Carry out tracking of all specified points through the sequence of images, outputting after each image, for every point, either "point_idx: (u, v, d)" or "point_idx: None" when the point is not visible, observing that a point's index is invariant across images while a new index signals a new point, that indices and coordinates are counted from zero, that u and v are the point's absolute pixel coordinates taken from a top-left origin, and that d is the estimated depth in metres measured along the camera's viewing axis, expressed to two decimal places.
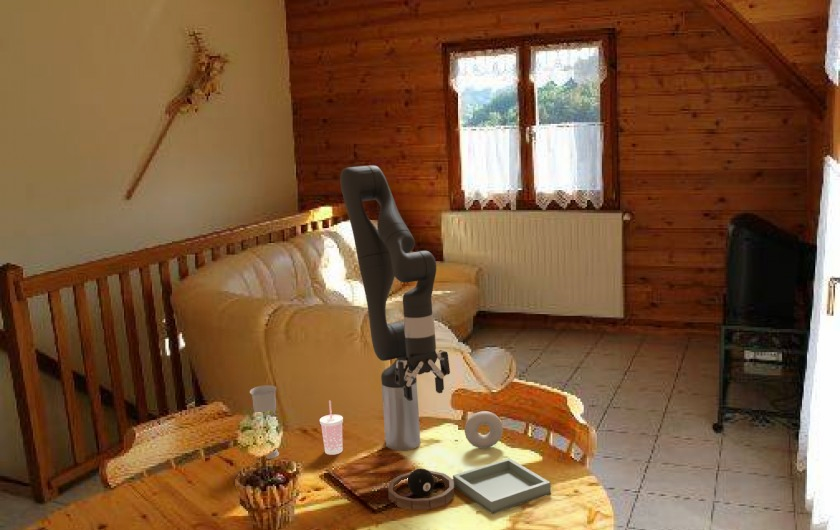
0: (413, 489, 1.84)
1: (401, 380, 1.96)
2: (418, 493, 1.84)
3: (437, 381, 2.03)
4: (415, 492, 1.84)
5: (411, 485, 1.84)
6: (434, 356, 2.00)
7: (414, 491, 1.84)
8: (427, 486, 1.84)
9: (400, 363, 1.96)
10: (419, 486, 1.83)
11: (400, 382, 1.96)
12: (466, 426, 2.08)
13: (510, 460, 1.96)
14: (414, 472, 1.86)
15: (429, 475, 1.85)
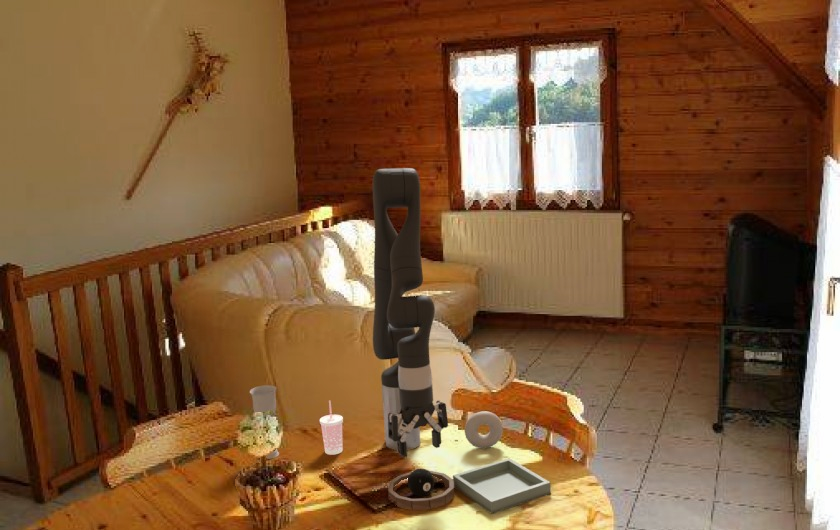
0: (413, 489, 1.84)
1: (395, 435, 1.80)
2: (418, 493, 1.84)
3: (434, 435, 1.86)
4: (415, 492, 1.84)
5: (411, 485, 1.84)
6: (431, 408, 1.84)
7: (414, 491, 1.84)
8: (427, 486, 1.84)
9: (394, 417, 1.79)
10: (419, 486, 1.83)
11: (394, 438, 1.80)
12: (466, 426, 2.08)
13: (510, 460, 1.96)
14: (414, 472, 1.86)
15: (429, 475, 1.85)
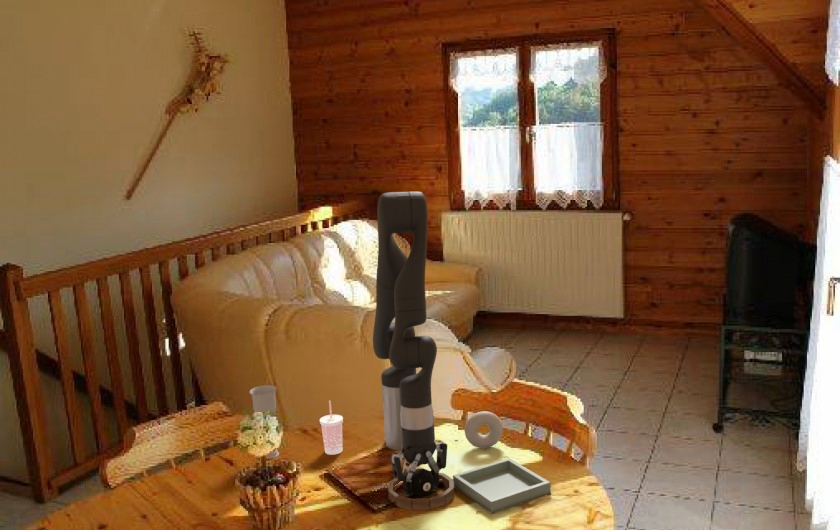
0: (413, 489, 1.84)
1: (400, 475, 1.82)
2: (418, 493, 1.84)
3: None
4: (415, 492, 1.84)
5: None
6: (433, 446, 1.85)
7: (414, 491, 1.84)
8: (427, 486, 1.84)
9: (396, 459, 1.81)
10: (419, 486, 1.83)
11: (399, 478, 1.82)
12: (466, 426, 2.08)
13: (510, 460, 1.96)
14: (414, 472, 1.86)
15: (429, 475, 1.85)
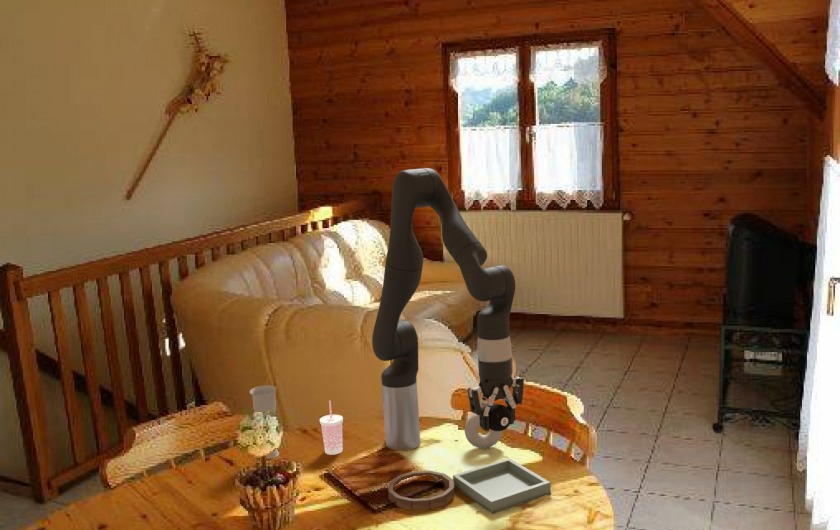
0: (491, 424, 1.81)
1: (478, 409, 1.79)
2: (495, 427, 1.81)
3: None
4: (492, 427, 1.81)
5: None
6: (510, 381, 1.82)
7: (491, 426, 1.81)
8: (505, 421, 1.81)
9: (474, 392, 1.78)
10: (497, 420, 1.80)
11: (477, 412, 1.79)
12: (466, 426, 2.08)
13: (510, 460, 1.96)
14: (491, 407, 1.82)
15: (506, 410, 1.82)
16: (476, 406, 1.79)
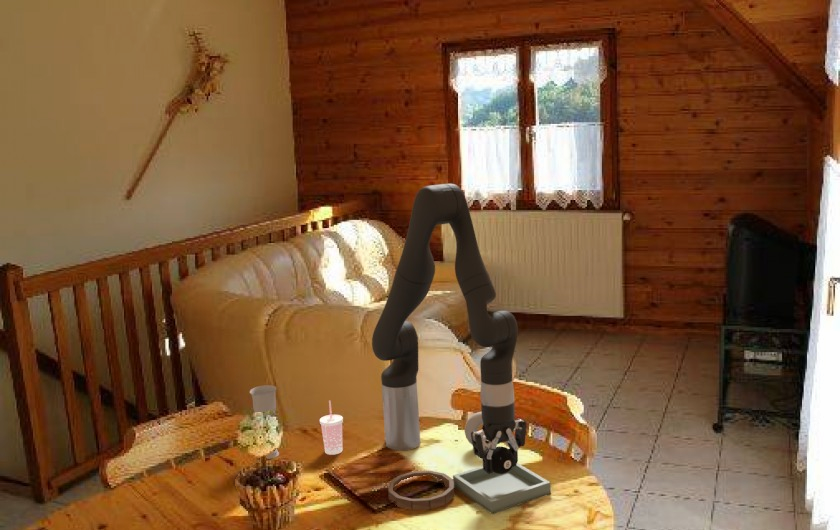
0: (494, 467, 1.83)
1: (481, 453, 1.81)
2: (498, 470, 1.83)
3: None
4: (496, 470, 1.83)
5: (492, 462, 1.83)
6: (512, 424, 1.84)
7: (495, 469, 1.83)
8: (508, 464, 1.83)
9: (477, 436, 1.80)
10: (500, 463, 1.82)
11: (480, 455, 1.81)
12: (466, 426, 2.08)
13: None
14: (494, 450, 1.84)
15: (509, 453, 1.84)
16: (479, 450, 1.81)
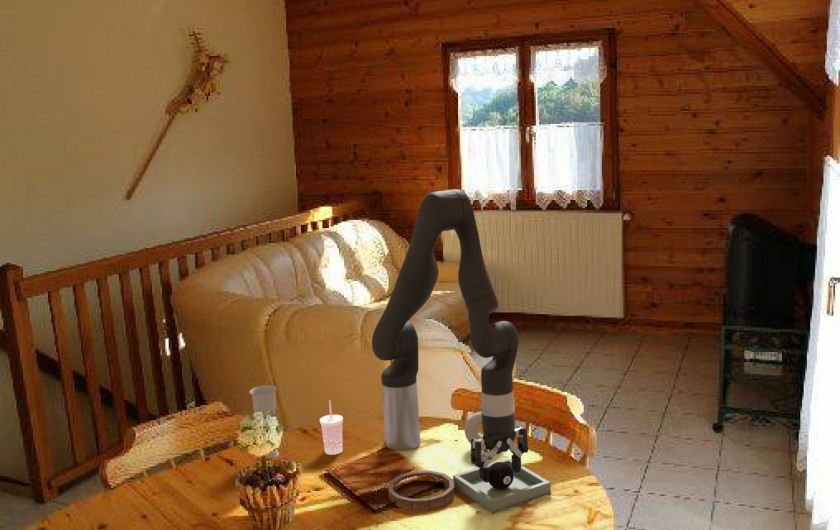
0: (494, 483, 1.84)
1: (478, 461, 1.81)
2: (498, 486, 1.84)
3: (514, 459, 1.87)
4: (495, 485, 1.84)
5: (491, 478, 1.84)
6: (512, 434, 1.85)
7: (494, 484, 1.84)
8: (507, 479, 1.83)
9: (478, 443, 1.80)
10: (500, 479, 1.83)
11: (477, 464, 1.81)
12: (466, 426, 2.08)
13: (510, 460, 1.96)
14: (494, 465, 1.85)
15: (509, 468, 1.85)
16: (477, 458, 1.81)
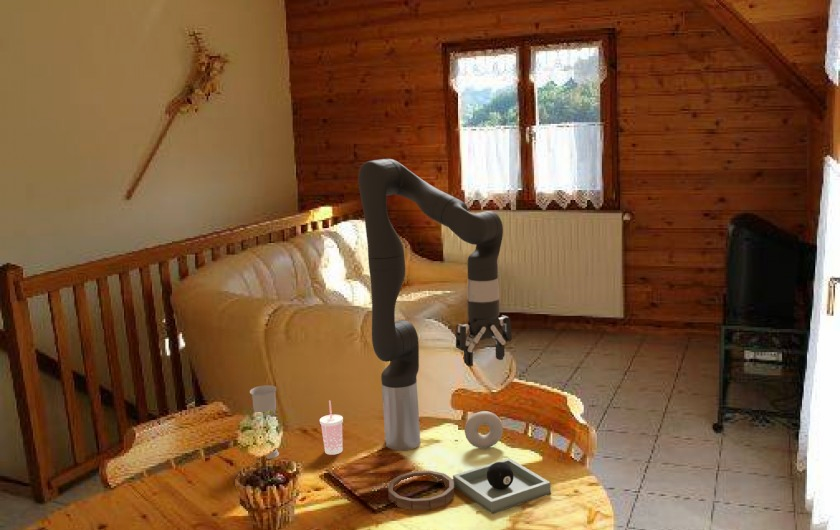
0: (493, 483, 1.84)
1: (463, 345, 1.89)
2: (498, 486, 1.84)
3: (498, 347, 1.95)
4: (495, 485, 1.84)
5: (491, 478, 1.84)
6: (497, 321, 1.92)
7: (494, 484, 1.84)
8: (507, 480, 1.83)
9: (462, 327, 1.88)
10: (499, 479, 1.83)
11: (461, 347, 1.89)
12: (466, 426, 2.08)
13: (510, 460, 1.96)
14: (494, 465, 1.85)
15: (509, 468, 1.85)
16: (462, 341, 1.89)
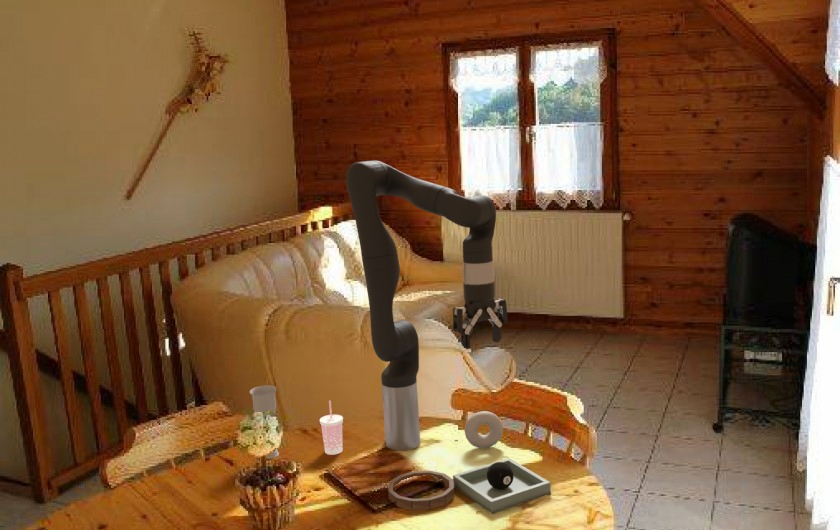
0: (493, 483, 1.84)
1: (460, 327, 1.92)
2: (498, 486, 1.84)
3: (494, 330, 1.98)
4: (495, 485, 1.84)
5: (491, 478, 1.84)
6: (493, 304, 1.96)
7: (494, 484, 1.84)
8: (507, 480, 1.83)
9: (459, 310, 1.91)
10: (499, 479, 1.83)
11: (459, 329, 1.92)
12: (466, 426, 2.08)
13: (510, 460, 1.96)
14: (494, 465, 1.85)
15: (509, 468, 1.85)
16: (459, 324, 1.92)
